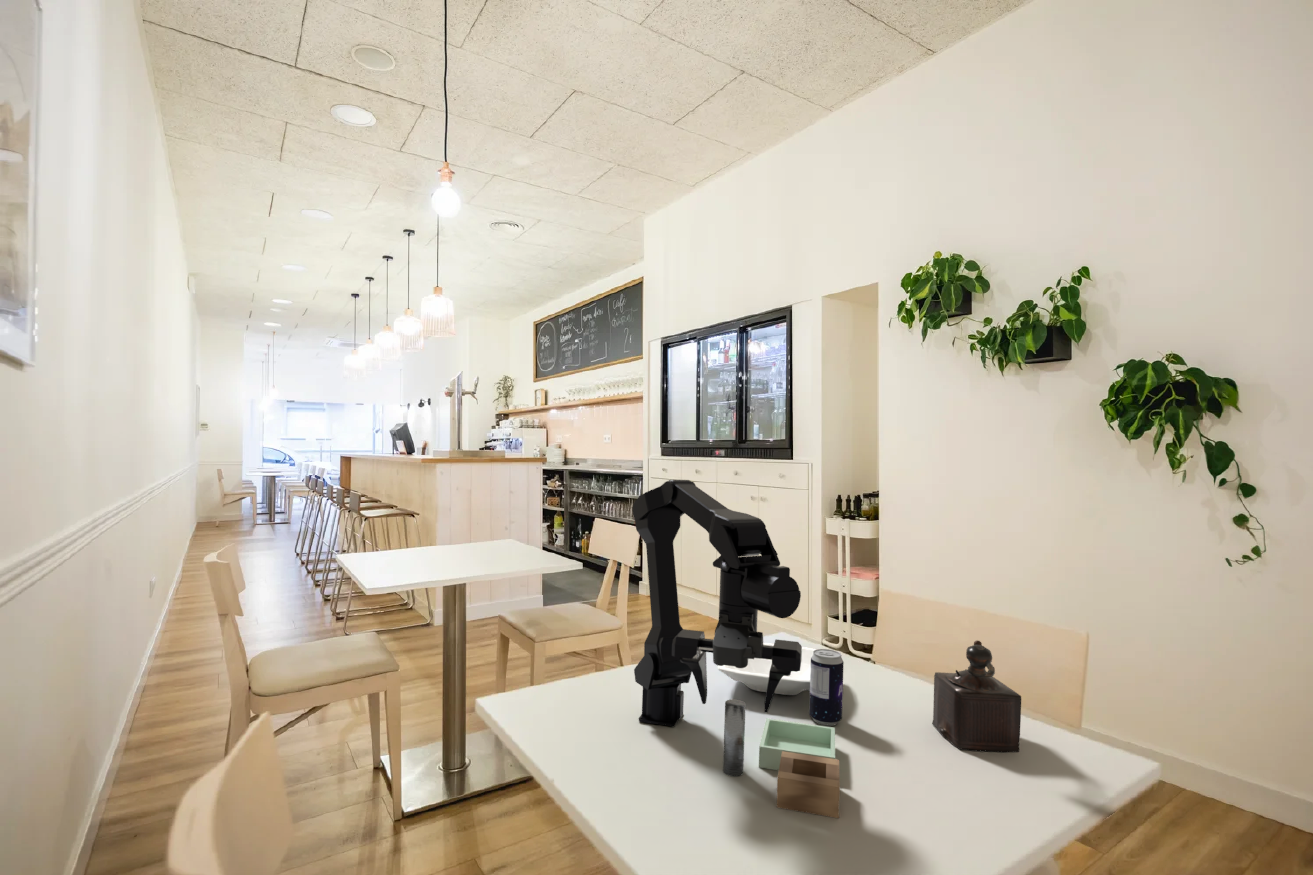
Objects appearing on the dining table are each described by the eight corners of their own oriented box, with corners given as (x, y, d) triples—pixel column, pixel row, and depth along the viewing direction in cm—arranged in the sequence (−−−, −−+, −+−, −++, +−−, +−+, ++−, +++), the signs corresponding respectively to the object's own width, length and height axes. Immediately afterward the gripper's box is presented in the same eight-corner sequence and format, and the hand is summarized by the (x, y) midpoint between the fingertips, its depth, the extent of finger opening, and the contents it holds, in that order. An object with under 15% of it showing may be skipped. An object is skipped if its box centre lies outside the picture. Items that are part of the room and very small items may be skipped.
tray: (758, 767, 98) (759, 746, 98) (765, 736, 109) (766, 718, 109) (834, 779, 95) (835, 757, 95) (834, 746, 106) (834, 727, 106)
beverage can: (843, 729, 113) (845, 659, 113) (809, 725, 114) (811, 656, 114) (840, 716, 118) (842, 649, 119) (808, 712, 120) (810, 646, 120)
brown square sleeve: (776, 807, 87) (777, 777, 87) (781, 778, 95) (781, 751, 95) (838, 818, 85) (839, 787, 85) (838, 788, 92) (839, 759, 93)
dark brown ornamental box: (927, 723, 116) (929, 622, 117) (989, 726, 116) (991, 624, 117) (969, 765, 101) (972, 648, 101) (1040, 768, 101) (1042, 651, 101)
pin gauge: (721, 774, 95) (723, 705, 96) (724, 764, 98) (726, 698, 98) (741, 777, 95) (744, 708, 95) (744, 768, 97) (746, 700, 98)
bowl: (833, 716, 118) (834, 685, 118) (707, 698, 125) (708, 668, 125) (835, 677, 140) (836, 650, 140) (728, 663, 146) (728, 638, 146)
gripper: (664, 607, 92) (660, 719, 91) (800, 621, 87) (796, 739, 87) (682, 591, 102) (678, 691, 102) (803, 603, 98) (799, 708, 97)
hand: (734, 707), depth 97 cm, fingers open, 9 cm apart
